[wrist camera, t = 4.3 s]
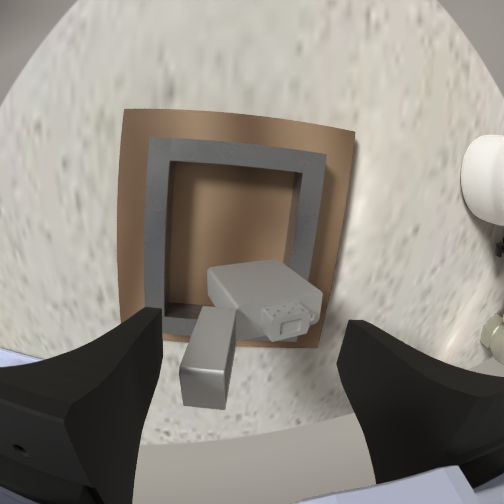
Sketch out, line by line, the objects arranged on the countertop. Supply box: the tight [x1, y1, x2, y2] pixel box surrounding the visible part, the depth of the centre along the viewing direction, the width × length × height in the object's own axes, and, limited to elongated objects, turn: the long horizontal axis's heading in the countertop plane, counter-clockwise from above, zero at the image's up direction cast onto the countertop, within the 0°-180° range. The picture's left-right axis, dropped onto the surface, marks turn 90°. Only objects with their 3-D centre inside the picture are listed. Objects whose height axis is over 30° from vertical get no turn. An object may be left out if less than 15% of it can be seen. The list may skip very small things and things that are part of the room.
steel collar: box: [144, 137, 327, 342], centre depth 18 cm, size 9×11×2 cm
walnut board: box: [117, 109, 355, 348], centre depth 20 cm, size 14×15×1 cm
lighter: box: [179, 259, 323, 410], centre depth 13 cm, size 7×2×8 cm, turn 89°
